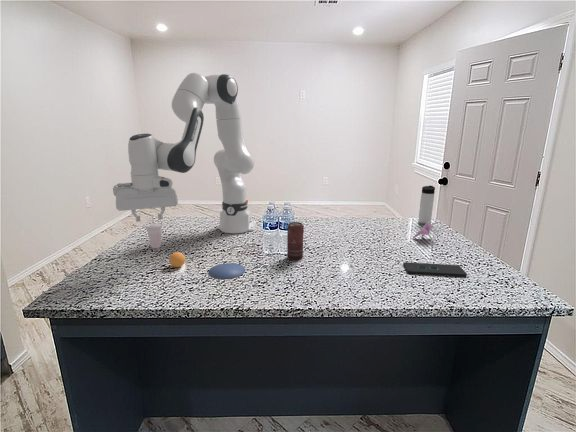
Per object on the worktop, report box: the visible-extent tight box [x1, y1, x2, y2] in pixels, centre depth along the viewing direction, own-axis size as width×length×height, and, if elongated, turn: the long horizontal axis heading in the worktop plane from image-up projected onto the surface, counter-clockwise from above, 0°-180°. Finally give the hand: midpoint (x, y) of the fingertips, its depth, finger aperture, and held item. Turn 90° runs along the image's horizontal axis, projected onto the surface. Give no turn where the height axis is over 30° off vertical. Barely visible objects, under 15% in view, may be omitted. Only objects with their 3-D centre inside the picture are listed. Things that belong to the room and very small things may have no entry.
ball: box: [168, 251, 186, 268], centre depth 123 cm, size 6×6×6 cm
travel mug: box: [417, 185, 436, 226], centre depth 178 cm, size 6×7×20 cm
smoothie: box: [145, 215, 163, 249], centre depth 142 cm, size 6×6×14 cm
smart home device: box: [402, 261, 468, 278], centre depth 123 cm, size 8×2×20 cm
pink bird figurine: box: [412, 221, 437, 243], centre depth 154 cm, size 12×12×10 cm
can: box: [286, 221, 305, 261], centre depth 131 cm, size 6×6×14 cm
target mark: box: [207, 262, 246, 280], centre depth 121 cm, size 13×13×1 cm
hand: (149, 220), depth 121 cm, fingers open, 6 cm apart
